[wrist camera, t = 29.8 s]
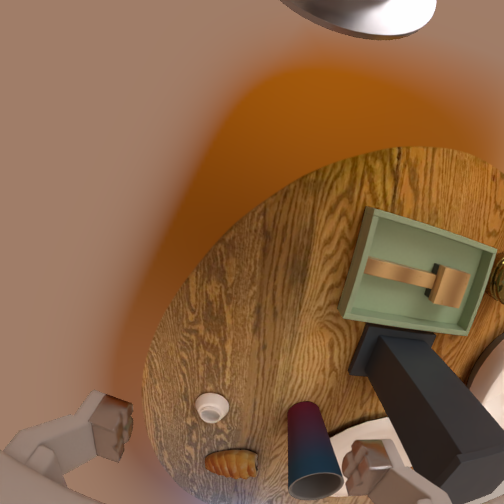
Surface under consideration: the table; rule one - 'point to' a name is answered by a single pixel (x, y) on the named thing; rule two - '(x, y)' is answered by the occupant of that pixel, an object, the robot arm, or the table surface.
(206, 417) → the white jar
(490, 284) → the brass bell weight
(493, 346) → the bowl
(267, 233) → the table surface
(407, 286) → the tray
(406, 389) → the stand
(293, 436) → the cup
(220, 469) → the pastry
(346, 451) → the plate
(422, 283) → the brush
